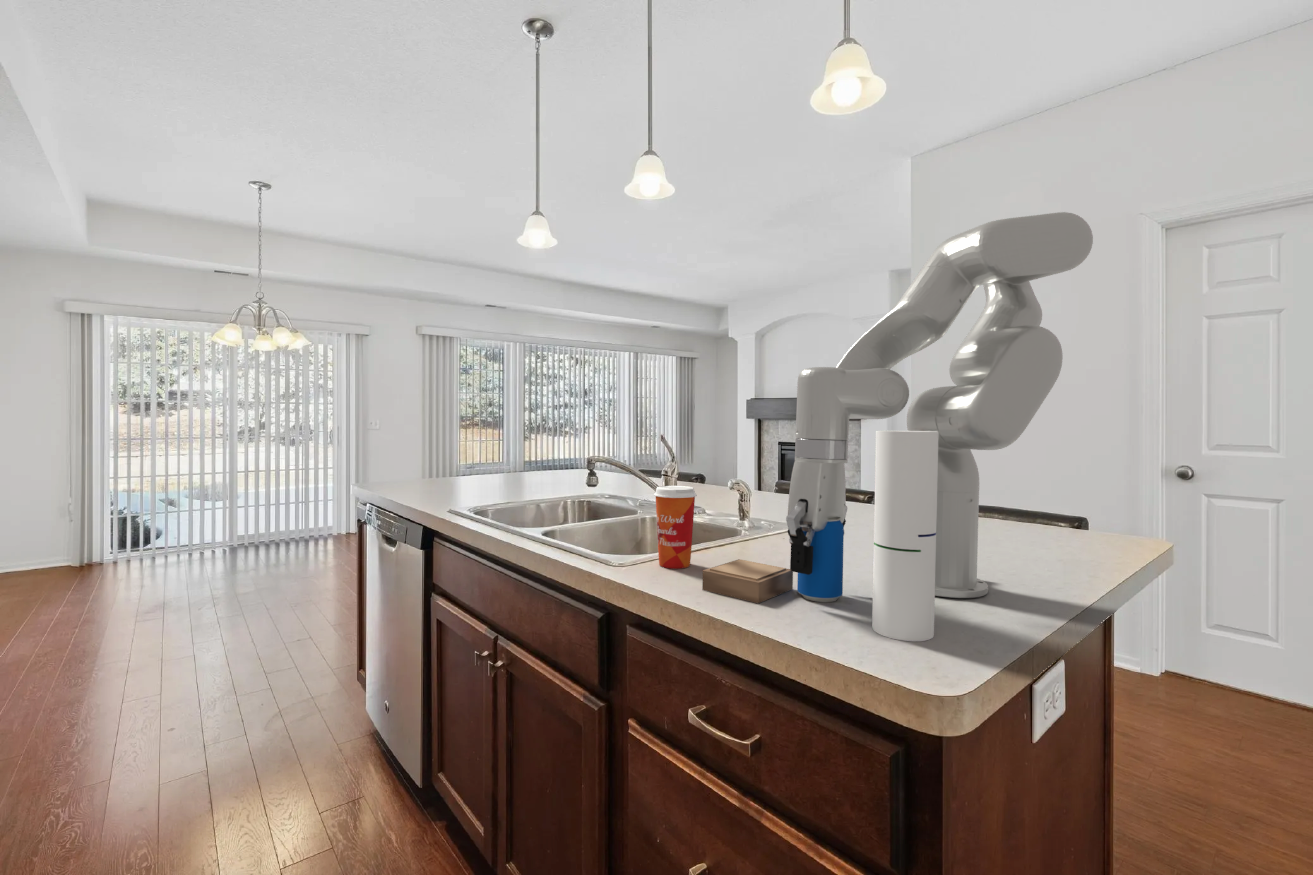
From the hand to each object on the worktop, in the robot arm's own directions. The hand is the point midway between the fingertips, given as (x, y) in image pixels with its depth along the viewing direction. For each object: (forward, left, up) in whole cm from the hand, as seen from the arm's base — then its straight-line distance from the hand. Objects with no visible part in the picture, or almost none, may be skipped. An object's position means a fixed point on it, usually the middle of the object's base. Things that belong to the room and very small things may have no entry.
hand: (816, 567), depth 88 cm
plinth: (+4, -10, -5) cm, 11 cm away
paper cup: (0, -28, -5) cm, 28 cm away
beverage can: (0, 0, -5) cm, 5 cm away
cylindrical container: (+6, +14, -5) cm, 16 cm away
